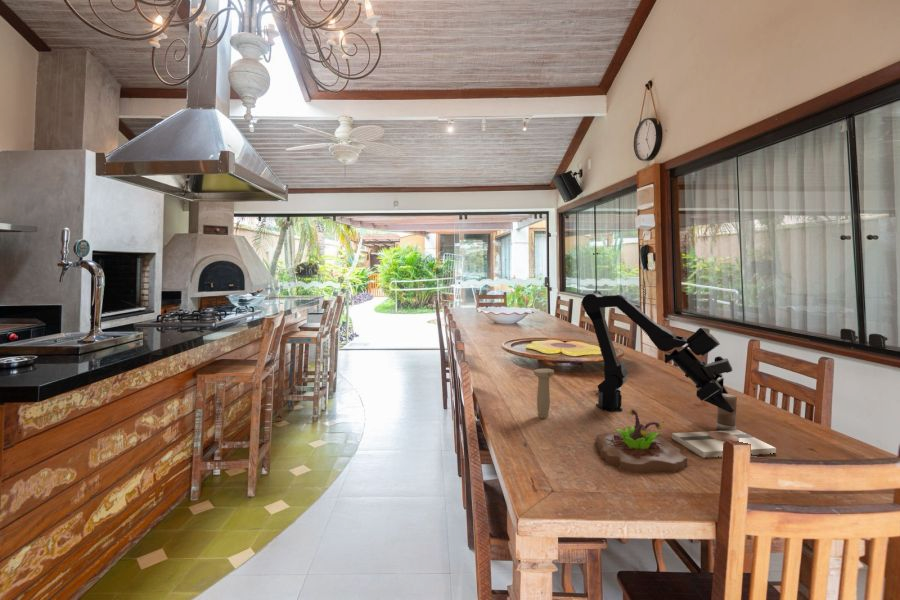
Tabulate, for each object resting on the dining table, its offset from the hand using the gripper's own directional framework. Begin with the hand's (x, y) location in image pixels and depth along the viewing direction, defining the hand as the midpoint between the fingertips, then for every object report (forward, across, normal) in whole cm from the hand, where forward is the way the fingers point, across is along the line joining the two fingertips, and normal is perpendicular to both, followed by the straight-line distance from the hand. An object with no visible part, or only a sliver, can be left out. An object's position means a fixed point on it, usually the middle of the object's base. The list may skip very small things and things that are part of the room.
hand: (732, 407), depth 121 cm
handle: (-30, -21, +40) cm, 54 cm away
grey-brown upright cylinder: (+4, 0, +6) cm, 7 cm away
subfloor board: (+3, -14, +6) cm, 16 cm away
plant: (-9, -32, +19) cm, 39 cm away
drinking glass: (-22, +23, +32) cm, 45 cm away
